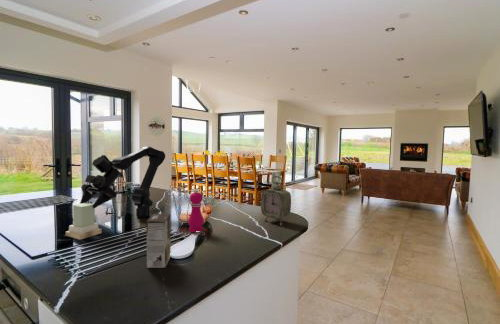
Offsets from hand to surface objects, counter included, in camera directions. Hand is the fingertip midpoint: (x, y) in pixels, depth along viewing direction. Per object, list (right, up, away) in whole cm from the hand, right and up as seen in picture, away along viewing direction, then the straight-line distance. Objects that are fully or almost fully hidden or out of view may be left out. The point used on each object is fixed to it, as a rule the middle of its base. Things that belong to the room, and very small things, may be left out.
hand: (86, 206), depth 124 cm
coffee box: (+42, -15, -27) cm, 52 cm away
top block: (-1, -11, 0) cm, 11 cm away
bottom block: (-1, -13, -1) cm, 13 cm away
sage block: (-1, -8, 0) cm, 8 cm away
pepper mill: (+48, -13, +7) cm, 50 cm away
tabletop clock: (+87, -13, +24) cm, 92 cm away
